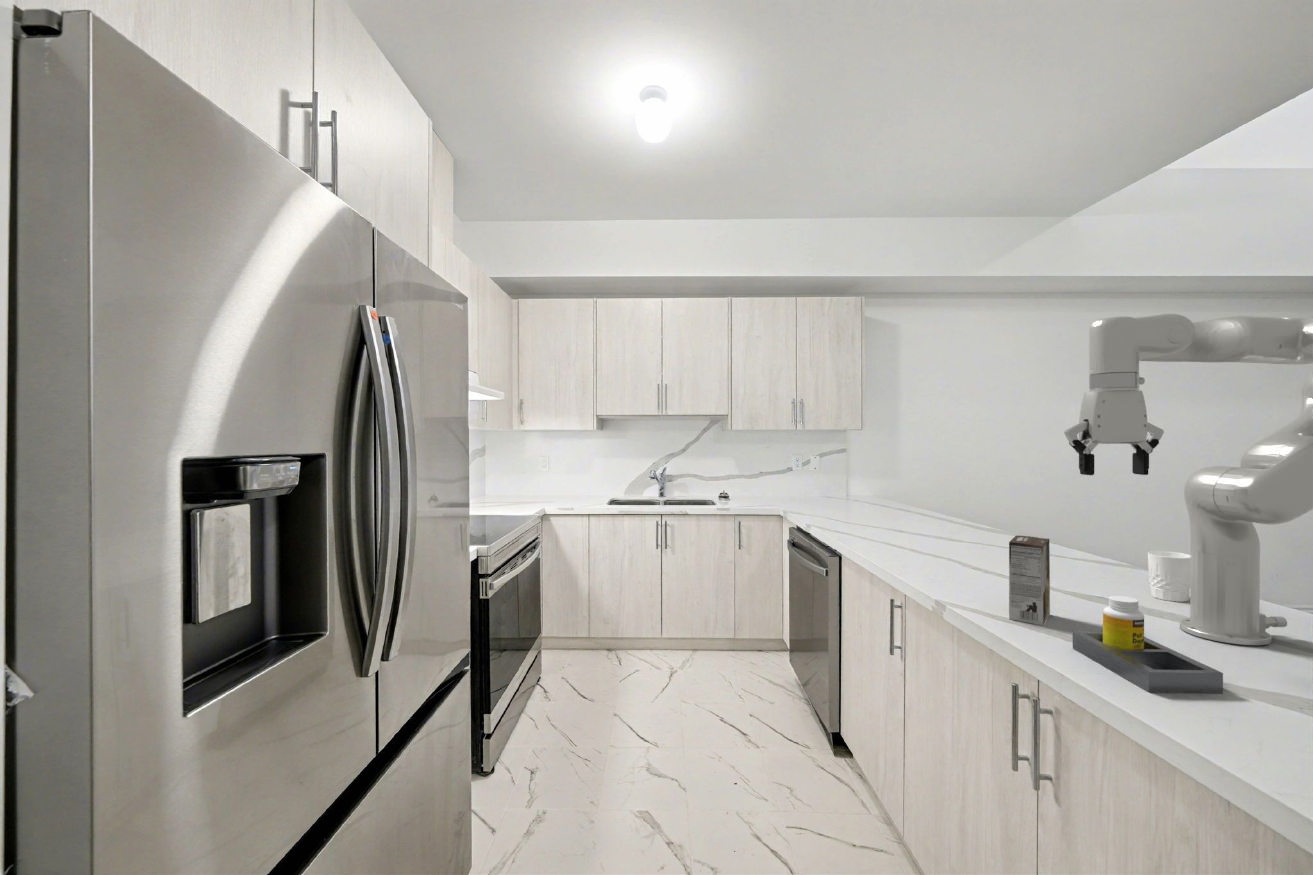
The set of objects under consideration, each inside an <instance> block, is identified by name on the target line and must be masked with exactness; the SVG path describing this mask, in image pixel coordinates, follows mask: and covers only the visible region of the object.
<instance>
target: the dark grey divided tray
mask: <svg viewBox="0 0 1313 875" xmlns="http://www.w3.org/2000/svg"><path fill="white" fill-rule="evenodd" d="M1072 649H1073V650H1075V651H1077V652H1078V653H1080V654H1081V655H1084V656H1085V657H1087V658H1088V659H1090V660H1092V661H1094V662H1096V663H1097V664H1098V665H1101V666H1102V667H1104V668H1106V669H1107V670H1109V671H1111V672H1113V673H1115V674H1116V675H1118V676H1120V677H1121V678H1123V679H1124V680H1126V681H1128V682H1130V683H1132V684H1134V685H1135V686H1137V687H1139V688H1141V689H1142V690H1144V691H1146V692H1148V693H1163V694H1166V693H1174V694H1175V693H1176V694H1177V693H1178V694H1181V693H1182V694H1223V693H1224V673H1223V672H1221V671H1219V670H1217V669H1216V668H1213V667H1211V666H1208V665H1206V664H1204V663H1202V662H1200V661H1198V660H1195V659H1193V658H1191V657H1189V656H1188V655H1185V654H1183V653H1180V652H1178V651H1177V650H1174V649H1171V648H1169V647H1167V646H1165V645H1164V644H1160V643H1159V642H1157V641H1155V640H1153V639H1150V638H1149V637H1146V636H1144V649H1114V648H1112V647H1110V646H1108V645H1106V644H1104V643H1103V631H1072ZM1164 692H1165V693H1164Z"/></svg>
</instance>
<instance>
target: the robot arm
mask: <svg viewBox="0 0 1313 875" xmlns="http://www.w3.org/2000/svg"><path fill="white" fill-rule="evenodd" d="M1088 334H1089V336H1088V338H1089V340H1088V342H1089V344H1088V346H1089V347H1088V351H1089V352H1088V356H1089V359H1088V360H1089V361H1088V362H1089V363H1088V364H1089V367H1088V368H1089V371H1088V373H1089V374H1088V375H1089V376H1088V379H1089V380H1088V383H1089V388H1088V391H1085V392H1084V393H1083V397H1082V399H1081V400H1082V401H1081V405H1080V412H1079V419H1078V420H1079V421H1078V424H1076V425H1074V426H1071V427H1069V428H1068V429H1066V430H1064V432H1063V433H1064V435H1065V437H1066V439H1067V441H1068V445H1070V446H1071V447H1072V448H1073V449H1074V450H1075V453H1077V454H1078V469H1079V474H1080V475H1083V476H1094V475H1095V454H1094V453H1092V452H1093V451H1094V449H1095V448H1096V447H1097V446H1098V445H1099V444H1100V445H1102V444H1103V445H1108V444H1109V445H1110V444H1115V445H1116V444H1117V445H1119V444H1122V445H1123V444H1126V445H1127V444H1128V445H1130V446H1131V448H1133V450H1134V451H1135V452H1132V465H1131V466H1132V467H1131V468H1132V469H1131V472H1132V473H1133V474H1134V475H1141V476H1148V475H1149V469H1150V454H1152V453H1153V451H1154V449H1155V448H1156V447H1157V446H1158V445H1160V440H1161V439H1162V437H1163V435H1164V433H1165V431H1164V429H1162V428H1160V427H1159V426H1156V425H1154V424H1153V423H1150V422H1148V412H1147V406H1146V400H1145V396H1144V393H1143V390H1140V385H1144V384H1145V382H1146V380H1145V378H1144V377H1141V376H1140V362H1161V363H1162V362H1163V363H1165V362H1167V363H1169V362H1170V363H1171V362H1172V363H1173V362H1174V363H1179V362H1180V363H1181V362H1182V363H1183V362H1184V363H1185V362H1186V363H1187V362H1188V363H1244V364H1245V363H1247V364H1269V365H1270V364H1271V365H1272V364H1273V365H1294V366H1295V365H1310V364H1313V316H1311V317H1310V316H1309V317H1273V316H1272V317H1271V316H1270V317H1269V316H1248V315H1247V316H1246V315H1245V316H1244V315H1240V316H1239V315H1238V316H1227V317H1219V318H1213V319H1207V320H1201V321H1192V320H1191V319H1189V318H1188V317H1186V316H1184V315H1181V314H1178V313H1162V314H1155V315H1150V316H1149V315H1148V316H1139V317H1132V316H1111V317H1105V318H1100V319H1096V320H1093V322H1092V323H1091V324H1090V326H1089V331H1088ZM1148 433H1149V436H1148ZM1240 458H1241V459H1240V461H1239V462H1240V463H1239V464H1240V467H1239V466H1238V467H1237V466H1227V465H1223V466H1222V465H1214V466H1207V467H1203V468H1200V469H1198V470H1196V471H1195V472H1193V473H1192V474H1190V475H1189V477H1188V478H1187V480H1186V481H1185V483H1184V484H1185V485H1184V487H1183V488H1184V489H1183V495H1184V501H1185V505H1186V509H1187V513H1188V518H1189V529H1190V555H1191V574H1190V595H1189V601H1190V607H1189V608H1190V609H1189V610H1190V611H1189V612H1190V613H1189V618H1184V619H1180V621H1179V628H1180V629H1181V630H1182V631H1184V632H1186V633H1187V634H1189V635H1192V636H1196V637H1199V638H1201V639H1206V640H1210V641H1215V642H1220V643H1226V644H1231V645H1241V646H1264V645H1265V646H1266V645H1269V644H1271V643H1272V635H1271V634H1270V633H1268V632H1267V631H1266V629H1269V628H1270V627H1272V628H1286V627H1287V626H1288V621H1287V619H1286V617H1283V616H1278V615H1277V616H1267V615H1266V614H1264V613H1261V612H1260V611H1261V610H1260V608H1261V607H1260V606H1261V604H1260V603H1261V602H1260V596H1261V595H1260V592H1261V590H1260V589H1261V588H1260V587H1261V586H1260V584H1261V578H1260V577H1261V573H1260V572H1261V568H1260V567H1261V542H1260V538H1259V535H1258V532H1257V529H1256V528H1255V525H1254V524H1255V523H1256V524H1260V525H1261V524H1262V525H1280V524H1285V523H1289V522H1291V521H1293V520H1295V519H1297V518H1300V517H1301V516H1304V515H1305V514H1306V513H1309V512H1311V511H1312V510H1313V372H1311V373H1310V374H1309V375H1307V377H1306V378H1305V380H1304V381H1303V383H1302V387H1301V410H1300V413H1299V415H1298V416H1297V417H1296V418H1295V419H1294V420H1292V421H1290V423H1288V424H1286V425H1284V426H1283V427H1281V428H1280V429H1278V430H1276V431H1274V432H1273V433H1271V434H1269V435H1268V436H1266V437H1264V438H1263V439H1261V440H1259V441H1257V442H1255V443H1254V444H1253V445H1251V446H1250V447H1249V448H1247V449H1246V450H1245V451H1244V453H1243V454H1242V456H1241V457H1240Z"/></svg>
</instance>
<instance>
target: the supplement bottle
mask: <svg viewBox="0 0 1313 875" xmlns="http://www.w3.org/2000/svg"><path fill="white" fill-rule="evenodd" d="M1139 608H1140V606H1139V600H1138V599H1136V598H1133V597H1130V596H1124V595H1123V596H1122V595H1111V596H1109V597H1108V606H1106V607H1104V608H1103V610H1102V611H1103V612H1102V632H1103V643H1104V644H1106V645H1108V646H1110V647H1112V648H1114V649H1144V637H1145V615H1144V612H1142V611H1140V610H1139Z"/></svg>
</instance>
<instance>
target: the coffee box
mask: <svg viewBox="0 0 1313 875" xmlns="http://www.w3.org/2000/svg"><path fill="white" fill-rule="evenodd" d="M1050 554H1051V553H1050V538H1042V537H1037V536H1027V535H1015V536H1013V538H1011V540H1010V541H1009V542H1008V582H1009V583H1008V614H1009V615H1008V619H1009V620H1010V621H1016V622H1022V623H1028V624H1034V625H1041V626H1044V625H1045V624H1046V622H1047V620H1048V618H1049V616H1050V614H1051V602H1050V601H1051V595H1050V594H1051V586H1050V585H1051V583H1050V582H1051V578H1050V576H1051V573H1050V572H1051V570H1050V569H1051V568H1050V562H1051V561H1050Z"/></svg>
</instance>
